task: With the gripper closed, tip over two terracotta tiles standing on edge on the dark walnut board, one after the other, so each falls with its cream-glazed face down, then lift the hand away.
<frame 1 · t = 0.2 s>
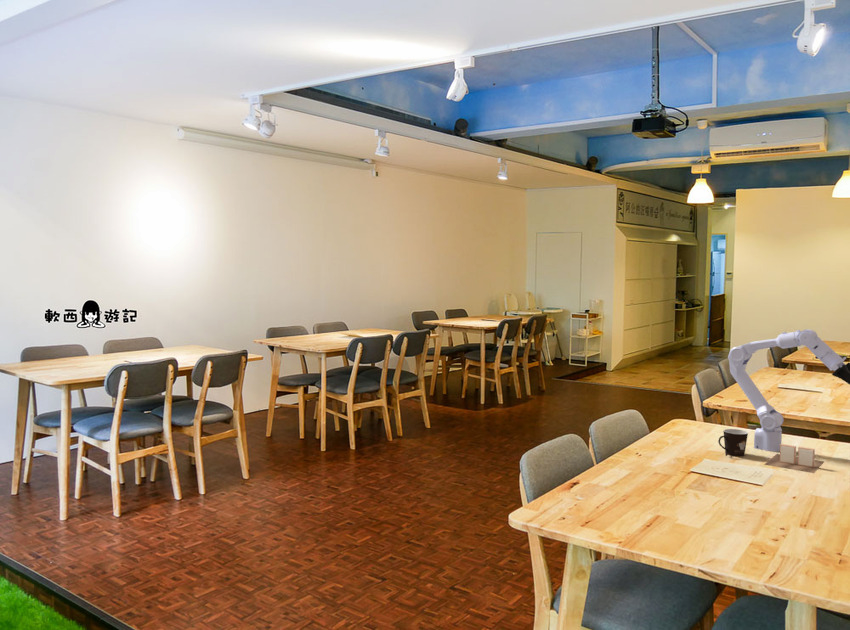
board: (794, 466, 250), on the table
tile right: (805, 465, 246), point 1 cm above the table, touching board
coffee mug: (730, 457, 262), on the table
tile left: (787, 462, 250), point 1 cm above the table, touching board
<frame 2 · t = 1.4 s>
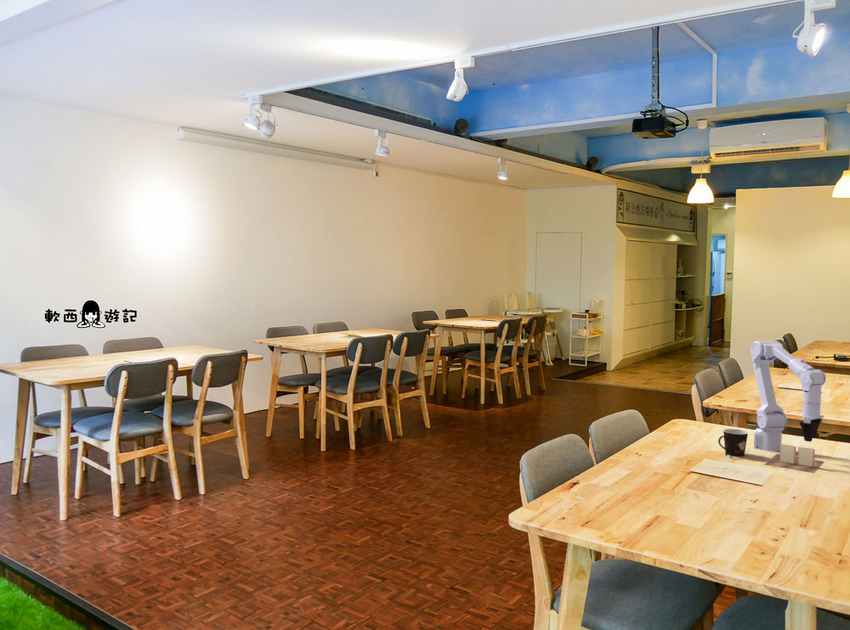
hand: (810, 439, 250), 10 cm above the table, tool pointing down, fingers open, 6 cm apart
nothing on the table moved.
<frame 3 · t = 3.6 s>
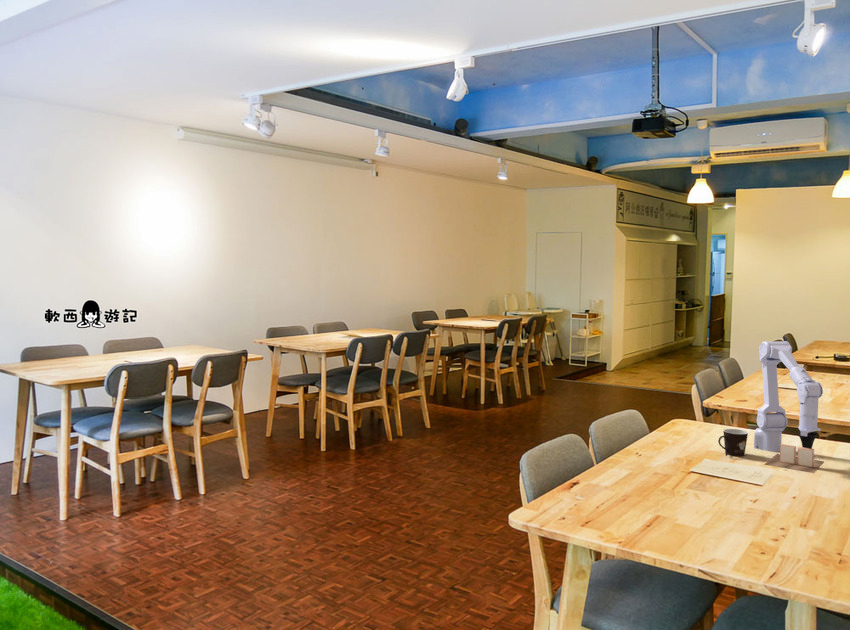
hand: (807, 452, 246), 6 cm above the table, tool pointing down, fingers closed
tile right: (805, 465, 246), point 1 cm above the table, tilted 10°, touching board
everything else where it was.
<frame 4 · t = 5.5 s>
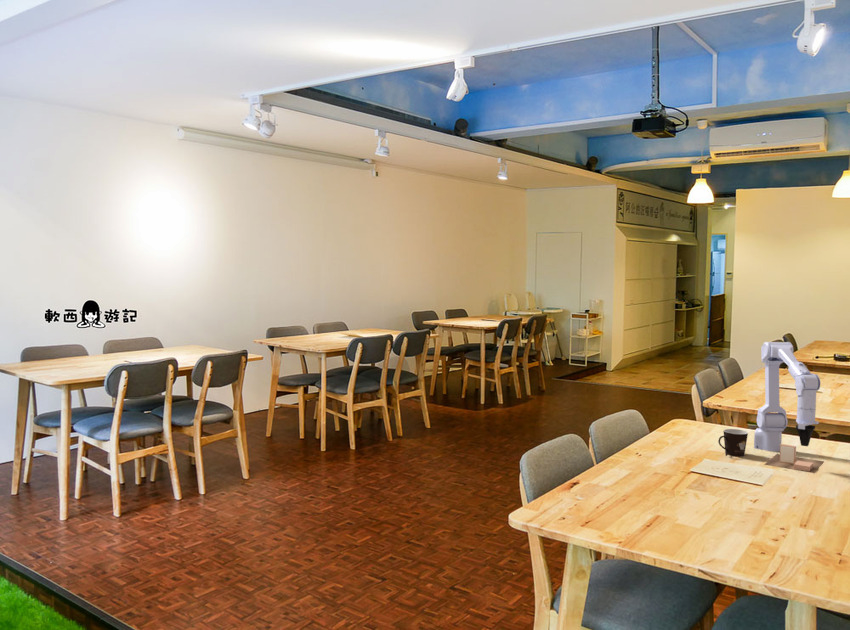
hand: (804, 445, 243), 9 cm above the table, tool pointing down, fingers closed
tile right: (805, 463, 245), point 2 cm above the table, tilted 90°, touching board
everything else where it was.
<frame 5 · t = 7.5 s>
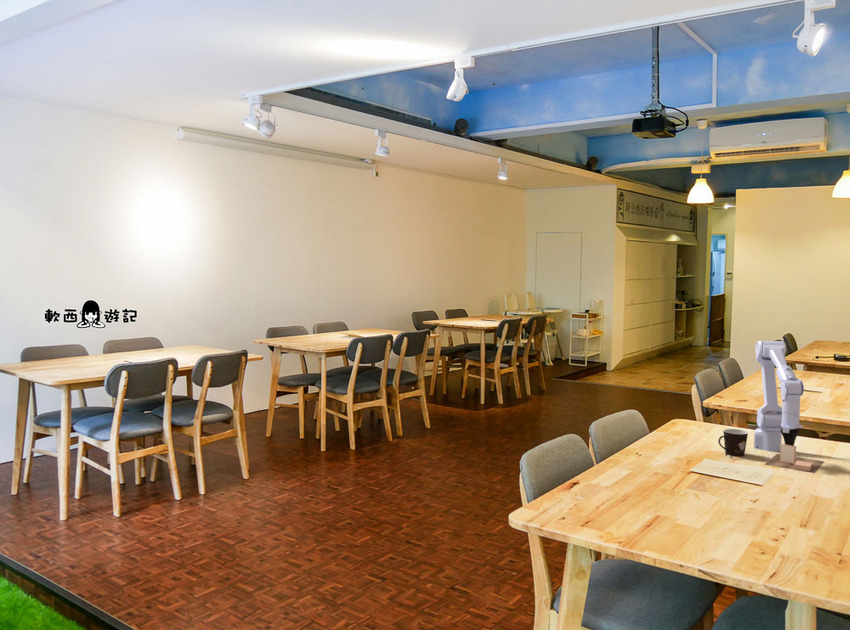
hand: (789, 448, 251), 6 cm above the table, tool pointing down, fingers closed
tile left: (787, 462, 250), point 1 cm above the table, touching board, gripper
everything else where it was.
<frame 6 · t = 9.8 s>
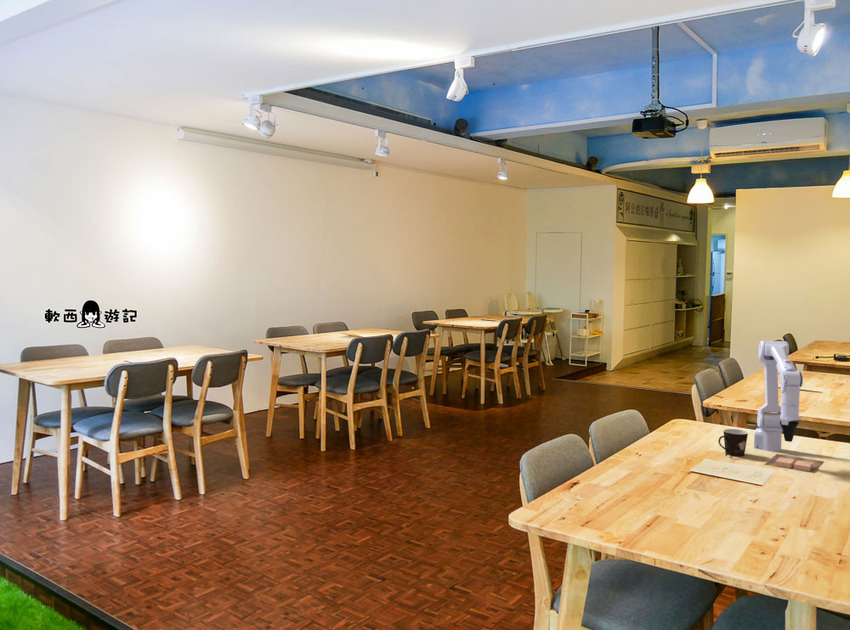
hand: (788, 441, 247), 10 cm above the table, tool pointing down, fingers closed
tile left: (787, 460, 249), point 2 cm above the table, tilted 90°, touching board
everything else where it was.
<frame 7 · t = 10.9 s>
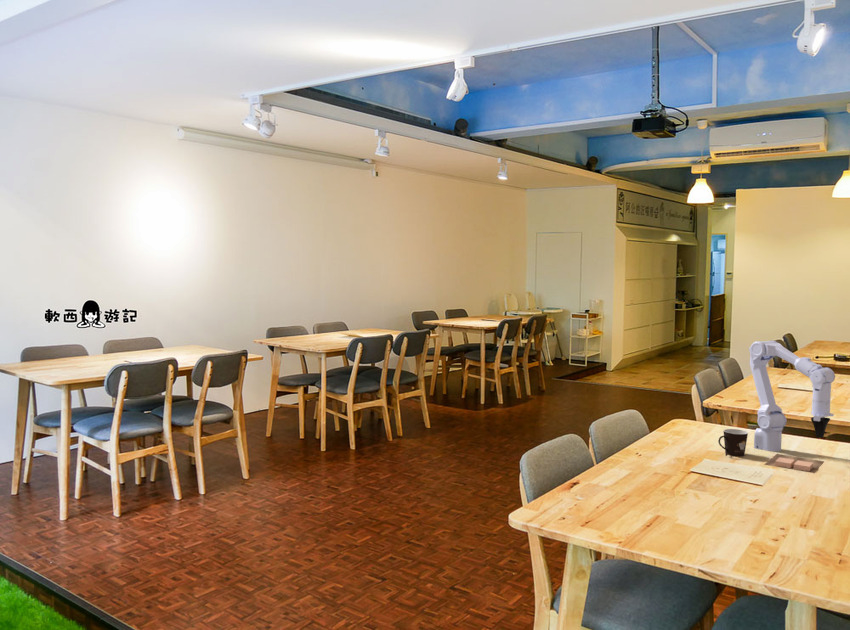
hand: (819, 437, 251), 10 cm above the table, tool pointing down, fingers closed
nothing on the table moved.
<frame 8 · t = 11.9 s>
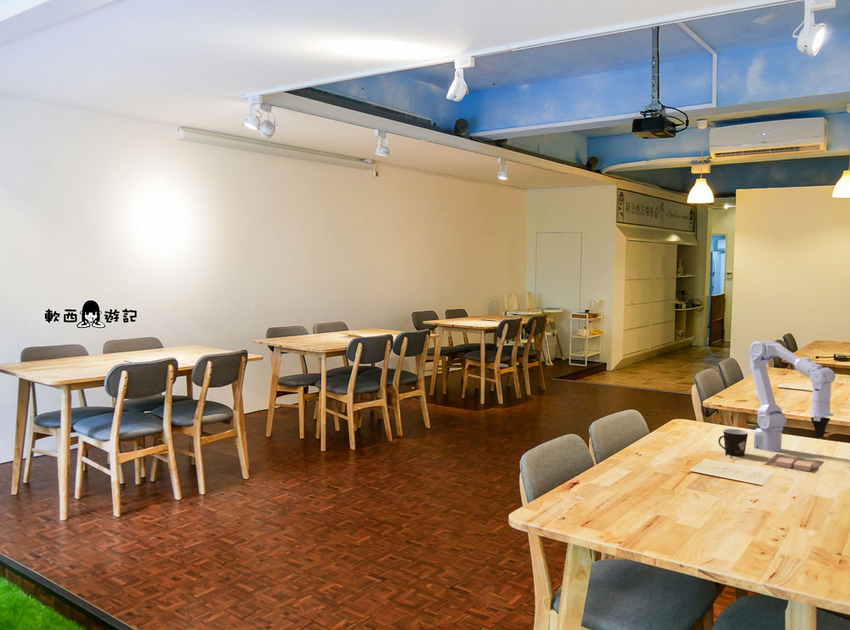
hand: (819, 437, 251), 10 cm above the table, tool pointing down, fingers closed
nothing on the table moved.
at the end: tile right tilted 90°; tile left tilted 90°; tile right inside the target area (2.1 cm from its centre), point 2.2 cm above the table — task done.
